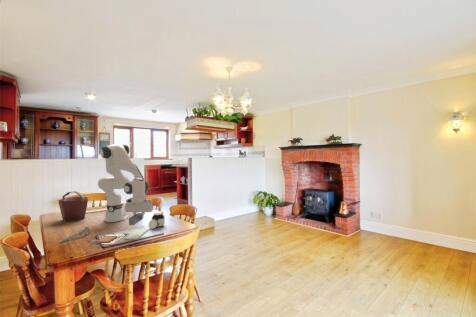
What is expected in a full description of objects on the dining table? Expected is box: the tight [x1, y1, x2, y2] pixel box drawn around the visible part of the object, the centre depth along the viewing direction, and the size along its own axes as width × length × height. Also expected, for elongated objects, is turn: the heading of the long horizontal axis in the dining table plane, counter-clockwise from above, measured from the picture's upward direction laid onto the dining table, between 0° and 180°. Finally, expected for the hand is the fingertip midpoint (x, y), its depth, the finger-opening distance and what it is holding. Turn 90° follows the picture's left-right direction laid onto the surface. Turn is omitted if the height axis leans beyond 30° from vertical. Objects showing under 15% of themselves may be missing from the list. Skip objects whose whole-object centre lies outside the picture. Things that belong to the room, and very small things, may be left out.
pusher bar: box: [128, 212, 144, 226], centre depth 173 cm, size 16×3×5 cm, turn 0°
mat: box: [89, 232, 129, 246], centre depth 166 cm, size 22×16×1 cm
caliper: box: [58, 226, 91, 244], centre depth 167 cm, size 20×1×6 cm, turn 154°
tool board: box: [123, 228, 149, 241], centre depth 174 cm, size 20×9×1 cm, turn 0°
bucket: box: [58, 191, 89, 222], centre depth 218 cm, size 24×22×25 cm
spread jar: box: [148, 211, 166, 230], centre depth 194 cm, size 12×11×12 cm
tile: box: [97, 235, 117, 243], centre depth 162 cm, size 2×8×10 cm
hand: (139, 217), depth 178 cm, fingers closed on pusher bar, 3 cm apart
